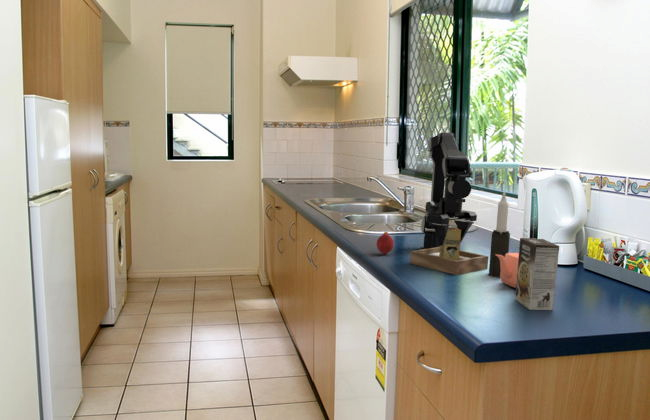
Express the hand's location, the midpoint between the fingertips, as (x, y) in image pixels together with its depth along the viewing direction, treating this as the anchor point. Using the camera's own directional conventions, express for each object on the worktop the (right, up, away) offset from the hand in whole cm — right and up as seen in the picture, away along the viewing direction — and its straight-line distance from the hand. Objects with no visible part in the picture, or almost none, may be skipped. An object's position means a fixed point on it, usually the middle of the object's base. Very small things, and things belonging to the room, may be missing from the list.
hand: (450, 244), depth 193 cm
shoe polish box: (0, -7, +1) cm, 7 cm away
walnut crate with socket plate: (0, -7, +1) cm, 7 cm away
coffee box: (+12, -13, -41) cm, 44 cm away
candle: (+12, -9, -9) cm, 18 cm away
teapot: (+15, -11, -22) cm, 29 cm away
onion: (-19, -5, +15) cm, 25 cm away
